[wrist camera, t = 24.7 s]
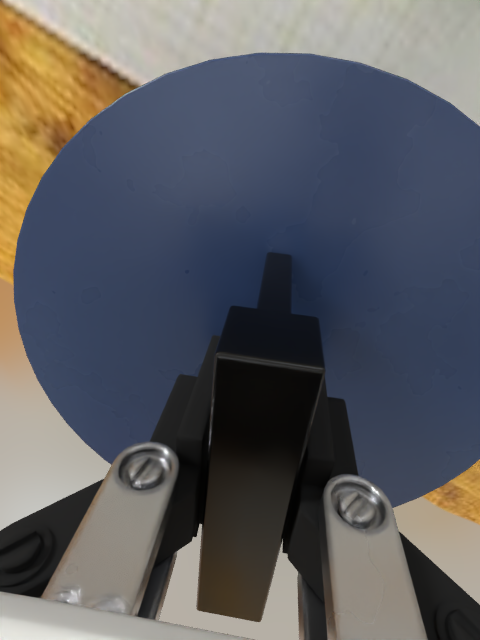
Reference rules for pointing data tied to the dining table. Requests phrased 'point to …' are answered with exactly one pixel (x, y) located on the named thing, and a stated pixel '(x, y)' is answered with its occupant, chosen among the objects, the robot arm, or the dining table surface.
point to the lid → (264, 284)
